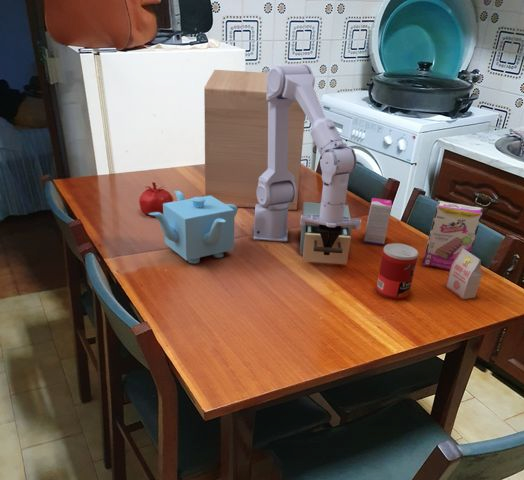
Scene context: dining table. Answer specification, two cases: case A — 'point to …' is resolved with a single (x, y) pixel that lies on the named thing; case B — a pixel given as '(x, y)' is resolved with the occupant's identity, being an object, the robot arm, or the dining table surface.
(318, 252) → the drawer
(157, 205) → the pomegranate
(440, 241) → the candy bar box
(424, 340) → the dining table surface
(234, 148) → the storage cube
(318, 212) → the cabinet
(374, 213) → the supplement box
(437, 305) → the dining table surface
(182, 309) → the dining table surface
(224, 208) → the teakettle
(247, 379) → the dining table surface
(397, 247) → the canned food
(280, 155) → the robot arm
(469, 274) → the white box
